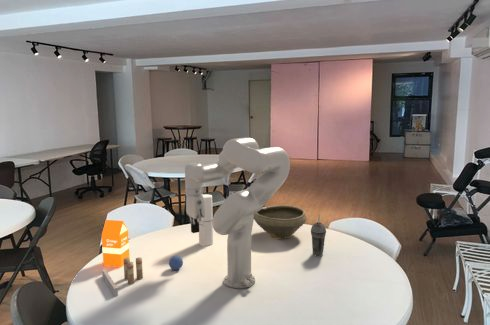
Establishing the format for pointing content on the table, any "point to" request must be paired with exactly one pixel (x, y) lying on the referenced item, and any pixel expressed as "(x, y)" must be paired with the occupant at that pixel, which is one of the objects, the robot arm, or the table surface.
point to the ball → (175, 262)
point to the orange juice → (115, 243)
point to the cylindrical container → (206, 223)
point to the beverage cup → (318, 238)
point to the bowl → (280, 220)
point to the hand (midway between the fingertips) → (195, 232)
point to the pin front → (139, 268)
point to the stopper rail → (110, 282)
